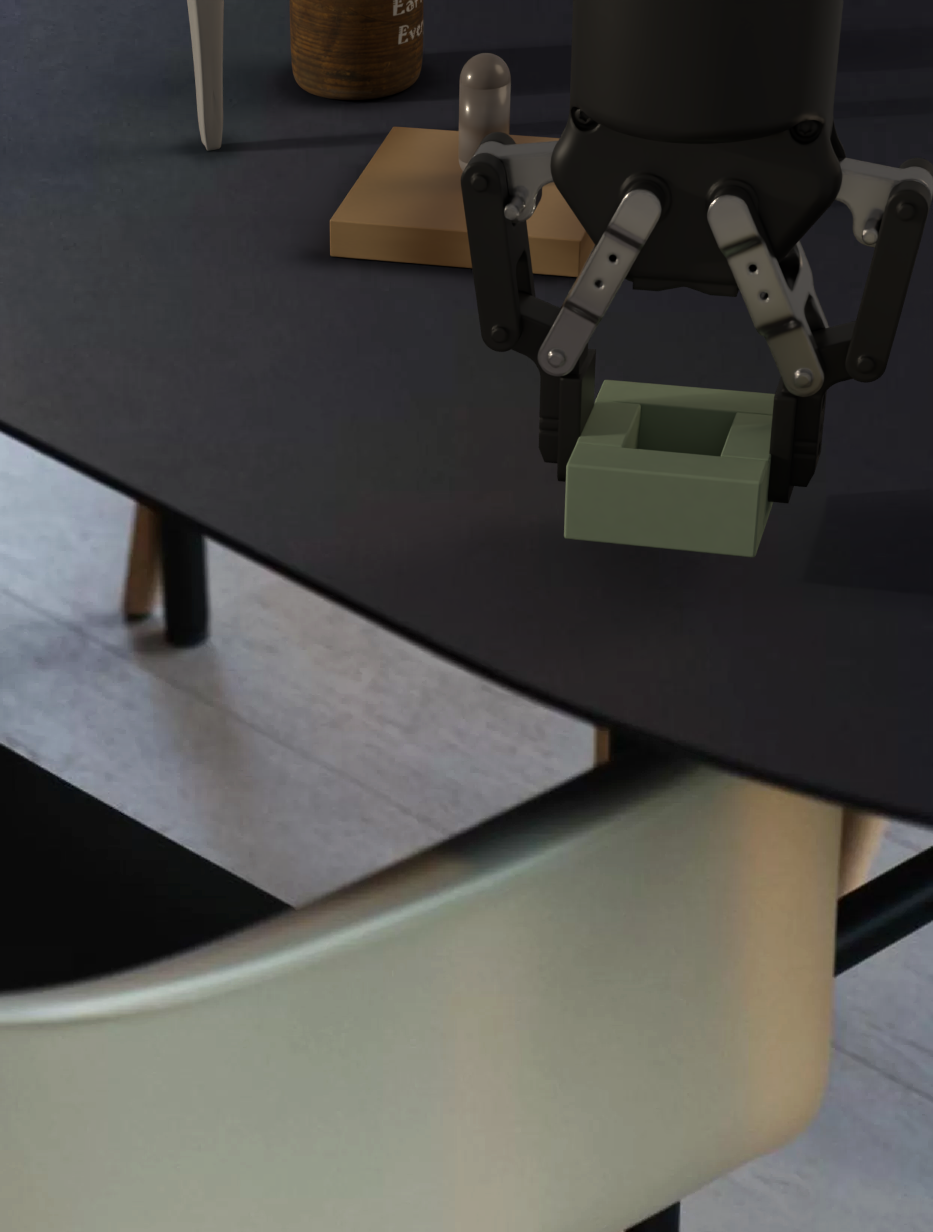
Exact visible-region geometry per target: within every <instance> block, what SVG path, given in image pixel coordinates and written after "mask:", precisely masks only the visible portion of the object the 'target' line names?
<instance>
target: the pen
mask: <svg viewBox="0 0 933 1232" xmlns="http://www.w3.org/2000/svg"><path fill="white" fill-rule="evenodd" d="M186 3H187V9H188V10H187V11H188V12H187V13H188V22H189V30H190V38H191V47H192V48H191V50H192V57H193V58H192V59H193V60H192V61H193V71H194V80H195V94H196V95H195V96H196V109H197V110H196V111H197V112H196V113H197V121H198V130H199V134H200V139H201V143H202V144H203V146H204V147H205V149H206V151H208V152H210V151H215V150H220V148H221V147H222V141H223V132H224V131H223V130H224V129H223V128H224V96H223V95H224V91H223V90H224V87H223V84H224V83H223V82H224V81H223V77H224V76H223V75H224V73H223V72H224V71H223V70H224V69H223V67H224V62H223V61H224V17H225V16H224V13H225V12H224V11H225V0H186Z"/></svg>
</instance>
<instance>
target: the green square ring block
mask: <svg viewBox="0 0 933 1232" xmlns="http://www.w3.org/2000/svg"><path fill="white" fill-rule="evenodd" d="M774 396H775V393H769V392H768V393H766V392H755V391H744V390H743V391H742V390H731V389H719V388H707V387H696V386H683V385H674V384H660V383H650V382H649V383H648V382H639V381H638V382H636V381H626V380H625V381H624V380H615V379H614V380H613V379H604V380H603V382H602V384H601V386H600V389H599V392H598V394H597V396H596V398H595V399H594V406H593V409H592V411H591V413H590V415H589V418H588V420H587V422H586V424H585V426H584V429H583V431H582V433H581V435H580V437H579V438H578V441H577V443H576V446H575V448H574V450H573V452H572V454H571V457H570V459H569V461H568V463H567V466H566V482H565V498H564V523H563V524H564V528H563V529H564V530H563V537H564V539H567V540H575V541H585V542H586V541H587V542H594V543H595V542H596V543H603V544H604V543H605V544H614V545H622V546H623V545H624V546H632V547H633V546H635V547H645V548H655V549H664V550H674V551H683V552H693V553H702V554H715V555H721V556H722V555H723V556H732V557H733V556H734V557H743V558H756V555H757V554H758V550H759V547H760V544H761V541H762V539H763V535H764V533H765V529H766V525H767V523H768V519H769V518H770V517H769V516H770V514H771V511H772V507H773V504H774V502H768V487H769V475H770V464H771V454H769V451H770V439H771V427H772V415H773V403H774Z"/></svg>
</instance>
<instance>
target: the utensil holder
mask: <svg viewBox="0 0 933 1232" xmlns="http://www.w3.org/2000/svg"><path fill="white" fill-rule="evenodd" d="M289 40H290V56H291V57H290V60H291V69H292V74H293V78H294V80H295V82H296V84H297V85H298V86H299V87H300V88H301V89H302V90H304V91H305V92H307V93H309V94H311V95H314V96H317V97H320V98H325V99H331V100H337V101H338V100H339V101H367V100H368V101H369V100H376V99H381V98H386V97H390V96H393V95H397V94H399V93H401V92H404V91H405V90H407V89H409V88H410V87H412V86H413V85H414V84H415V83H416V82H417V80H418V79H419V77H420V74H421V71H422V65H423V56H424V0H289Z"/></svg>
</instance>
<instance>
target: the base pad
mask: <svg viewBox="0 0 933 1232" xmlns="http://www.w3.org/2000/svg"><path fill="white" fill-rule="evenodd" d="M511 85H512V77H511V71H510V68H509V66H508V64H507V63H506V61H504V59H503V58H502V57H500V56H499V55H496V54H494V53H492V52H482V53H478V54H476V55H473V56H472V57H470V58H469V59H468V60H467V61H466V62H465V63H464V65H463V67H462V69H461V71H460V74H459V90H458V91H459V93H458V94H459V95H458V130H447V129H433V128H420V127H419V128H418V127H405V126H393V127H392V128H391V130H390V131H389V133H388V134H387V135H386V137H385V138H384V140H383V141H382V143H381V144H380V145H379V147H378V148H377V150H376V152H375V153H374V154H373V156H372V158H371V159H370V161H369V162H368V164H367V165H366V166H365V168H364V169H363V171H362V172H361V173H360V175H359V177H358V178H357V180H356V181H355V183H354V184H353V185H352V187H351V189H350V190H349V191H348V193H347V195H346V196H345V198H344V199H343V201H342V202H341V203H340V205H339V206H338V207H337V209H336V211H335V212H334V213H333V215H332V216H331V218H330V219H329V255H330V257H335V258H344V259H345V258H346V259H359V260H371V261H382V262H393V263H404V264H406V263H407V264H417V265H428V266H429V265H430V266H442V267H453V268H463V269H464V268H465V269H472V263H471V256H470V248H469V241H468V233H467V226H466V219H465V211H464V204H463V197H462V189H461V175H462V173H463V171H464V169H465V167H466V166H467V164H468V163H469V161H470V159H471V158H472V156H473V154H474V153H475V151H476V149H477V148H478V146H479V144H480V143H481V141H482V140H483V138H484V137H485V136H487V135H488V134H490V133H493V132H502V133H505V134H507V135H509V136H510V137H511V138H512V139H513V140H514V141H515V143H516V144H524V143H536V142H548V141H558V140H559V139H560V137H546V136H533V135H531V136H530V135H518V134H510V124H511V123H510V121H511V90H512V86H511ZM526 222H527V230H528V238H529V246H530V255H531V263H532V271H533V275H535V274H536V275H547V276H558V277H559V276H560V277H570V278H577V277H578V275H579V273H580V271H581V269H582V268H583V266H584V264H585V262H586V260H587V258H588V256H589V254H590V253H591V251H592V249H593V247H594V245H595V244H594V242H593V241H592V240H591V238H590V237H589V235H588V234H587V232H586V231H585V229H584V228H583V226H582V225H581V223H580V222H579V220H578V219H577V217H576V216H575V214H574V213H573V211H572V210H571V208H570V207H569V205H568V204H567V202H566V201H565V199H564V198H563V196H562V195H561V193H560V192H559V190H558V189H557V187H556V186H555V184H554V182H552V183H548V184H546V185H545V186H543V187H542V197H541V200H540V202H539V204H538V206H537V208H536V209H535V211H534V213H533V215H532V216H531V217H530V218H529V219H528V220H526Z"/></svg>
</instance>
